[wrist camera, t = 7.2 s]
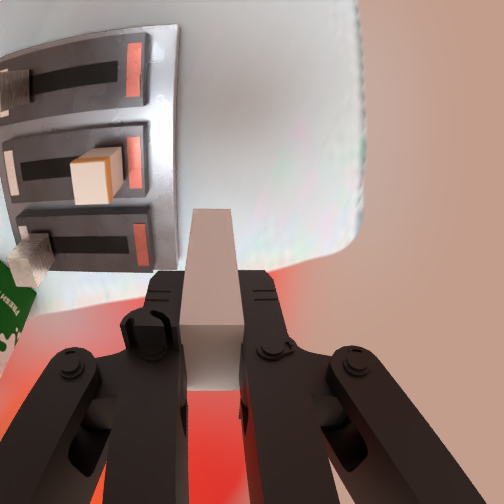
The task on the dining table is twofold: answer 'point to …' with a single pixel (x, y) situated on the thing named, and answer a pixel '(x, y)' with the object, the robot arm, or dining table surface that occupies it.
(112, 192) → the toggle
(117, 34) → the breaker panel
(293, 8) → the dining table surface
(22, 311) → the milk carton
